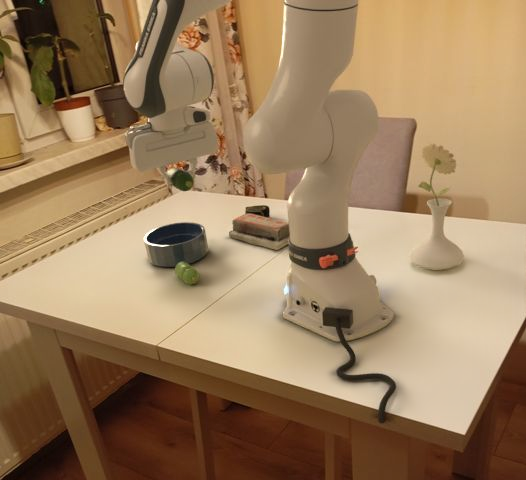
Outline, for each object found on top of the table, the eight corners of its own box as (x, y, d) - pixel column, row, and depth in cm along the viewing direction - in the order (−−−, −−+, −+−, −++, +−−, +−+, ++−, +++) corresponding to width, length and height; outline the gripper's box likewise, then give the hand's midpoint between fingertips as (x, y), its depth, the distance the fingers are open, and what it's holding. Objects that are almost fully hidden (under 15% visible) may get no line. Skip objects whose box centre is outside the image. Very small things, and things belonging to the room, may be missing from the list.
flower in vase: (474, 267, 121) (485, 146, 108) (425, 279, 119) (431, 158, 106) (441, 246, 132) (447, 134, 118) (396, 256, 130) (397, 144, 116)
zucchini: (199, 191, 129) (196, 172, 126) (182, 196, 127) (179, 177, 125) (182, 182, 136) (178, 164, 134) (165, 186, 135) (162, 168, 132)
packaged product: (225, 220, 149) (251, 208, 154) (227, 238, 151) (253, 225, 157) (275, 233, 137) (302, 219, 143) (277, 251, 140) (303, 237, 146)
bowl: (218, 256, 142) (214, 233, 139) (162, 274, 136) (157, 251, 133) (193, 239, 153) (189, 217, 150) (140, 255, 148) (135, 234, 144)
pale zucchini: (204, 285, 129) (201, 269, 127) (189, 290, 127) (186, 275, 125) (188, 272, 136) (185, 257, 134) (174, 277, 134) (170, 262, 132)
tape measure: (270, 215, 162) (269, 202, 160) (269, 224, 156) (268, 211, 154) (246, 217, 163) (245, 205, 161) (245, 226, 157) (243, 213, 155)
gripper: (128, 130, 117) (143, 196, 125) (216, 110, 125) (225, 173, 132) (118, 126, 122) (133, 189, 130) (204, 107, 129) (213, 168, 137)
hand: (180, 181), depth 131 cm, fingers closed on zucchini, 4 cm apart
